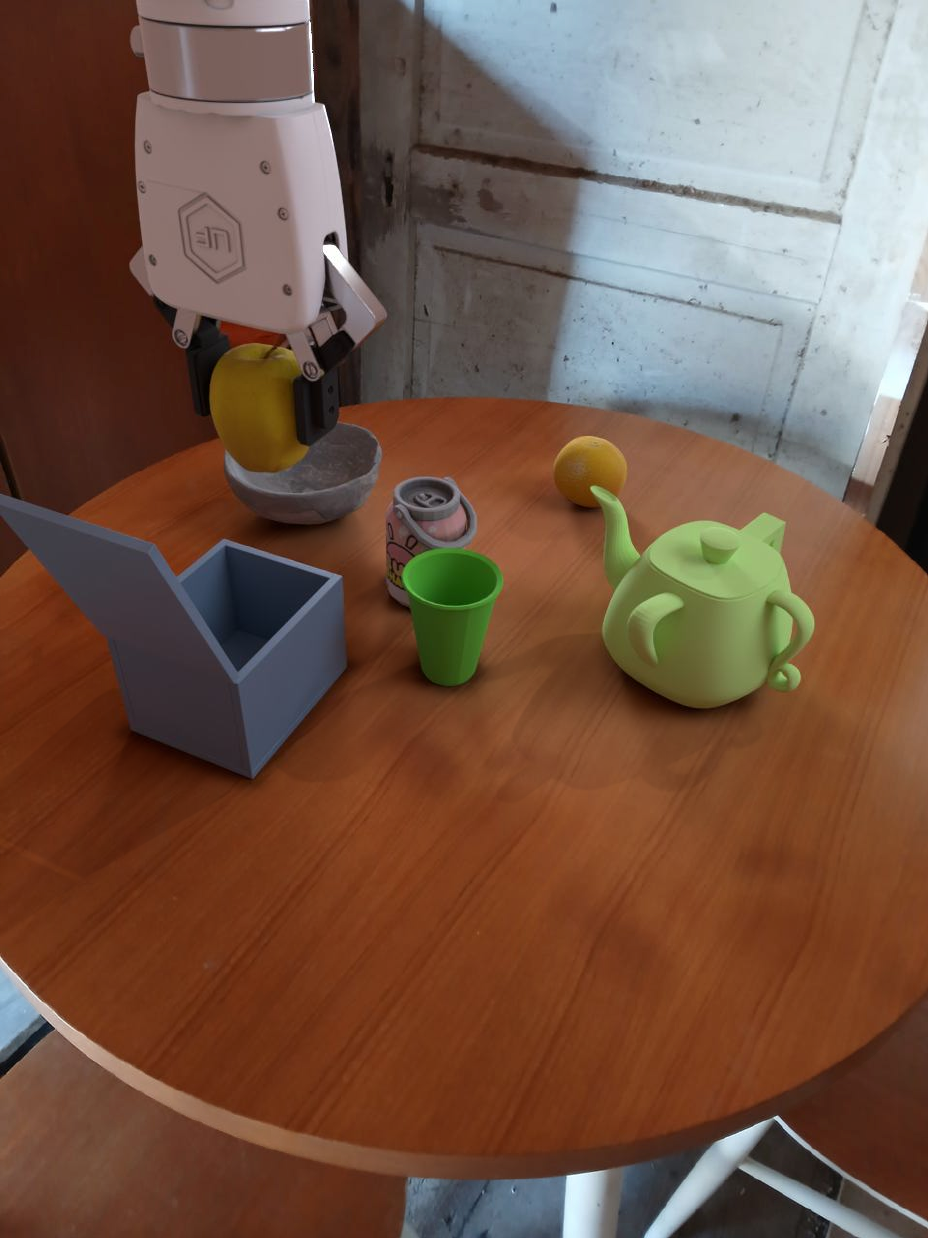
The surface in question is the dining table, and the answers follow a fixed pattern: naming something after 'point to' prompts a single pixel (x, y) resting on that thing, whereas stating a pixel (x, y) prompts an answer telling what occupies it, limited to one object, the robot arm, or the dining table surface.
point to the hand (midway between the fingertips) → (266, 418)
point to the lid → (120, 586)
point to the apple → (257, 407)
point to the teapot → (702, 609)
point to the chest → (241, 659)
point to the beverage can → (424, 525)
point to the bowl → (313, 479)
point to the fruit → (589, 470)
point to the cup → (451, 610)
